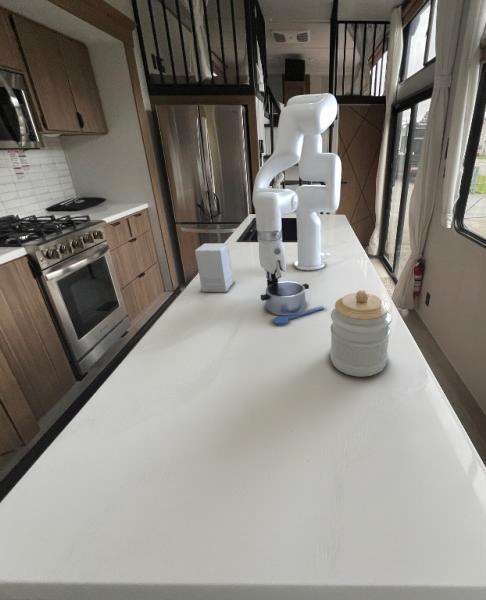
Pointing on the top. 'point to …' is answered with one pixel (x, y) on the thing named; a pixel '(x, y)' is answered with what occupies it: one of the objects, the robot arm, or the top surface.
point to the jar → (360, 334)
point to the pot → (285, 298)
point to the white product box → (214, 267)
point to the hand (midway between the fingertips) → (273, 290)
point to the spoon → (294, 316)
